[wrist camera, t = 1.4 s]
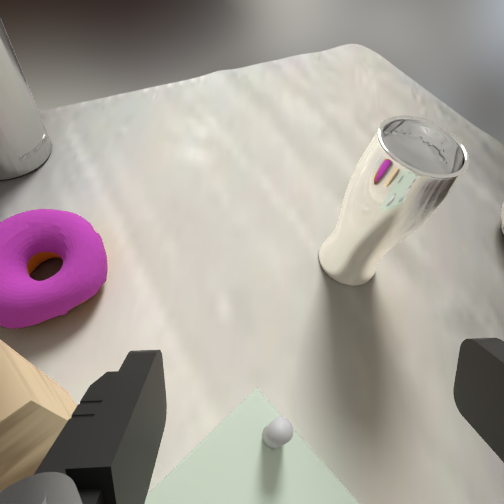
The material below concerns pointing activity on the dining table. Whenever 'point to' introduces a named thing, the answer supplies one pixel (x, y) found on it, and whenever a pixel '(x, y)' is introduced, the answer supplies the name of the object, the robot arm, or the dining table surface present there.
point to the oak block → (27, 416)
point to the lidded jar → (502, 218)
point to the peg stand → (252, 464)
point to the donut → (38, 250)
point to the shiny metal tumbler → (391, 194)
